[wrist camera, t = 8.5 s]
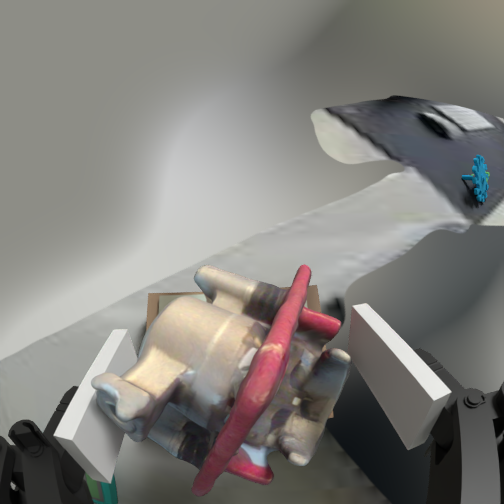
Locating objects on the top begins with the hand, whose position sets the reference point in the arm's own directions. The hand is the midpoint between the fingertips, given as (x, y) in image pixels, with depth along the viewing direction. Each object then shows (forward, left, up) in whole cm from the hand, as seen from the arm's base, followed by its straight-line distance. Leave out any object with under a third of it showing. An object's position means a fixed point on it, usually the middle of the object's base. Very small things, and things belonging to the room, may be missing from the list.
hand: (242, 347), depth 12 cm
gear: (+50, +28, -19) cm, 61 cm away
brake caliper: (0, -2, -4) cm, 5 cm away
